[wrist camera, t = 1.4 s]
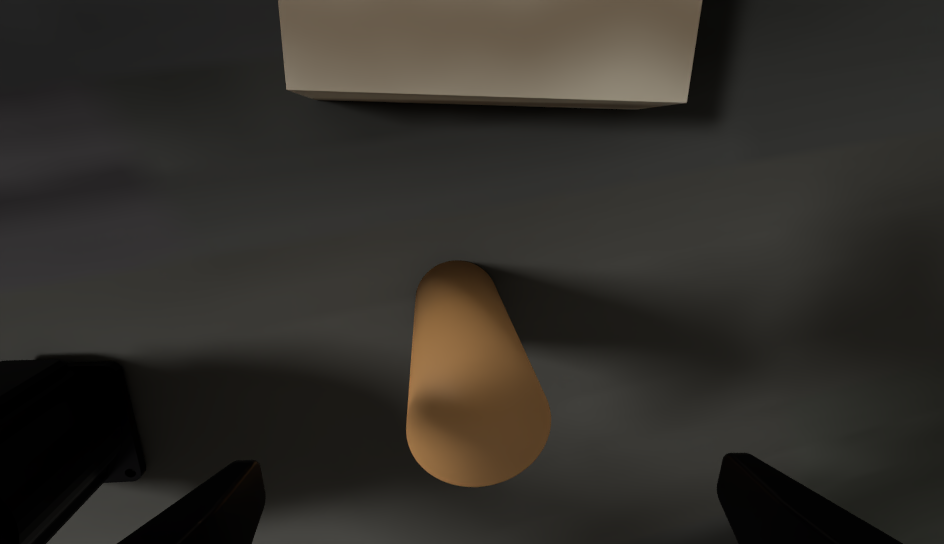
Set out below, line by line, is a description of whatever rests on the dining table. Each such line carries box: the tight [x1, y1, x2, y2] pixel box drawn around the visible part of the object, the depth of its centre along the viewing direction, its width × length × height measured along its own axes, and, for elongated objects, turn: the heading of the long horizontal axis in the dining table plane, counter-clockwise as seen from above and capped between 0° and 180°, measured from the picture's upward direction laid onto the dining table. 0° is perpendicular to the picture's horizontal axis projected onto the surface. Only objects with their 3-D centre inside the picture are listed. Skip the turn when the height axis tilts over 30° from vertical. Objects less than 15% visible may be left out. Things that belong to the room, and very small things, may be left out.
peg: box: [406, 261, 551, 487], centre depth 17 cm, size 4×4×10 cm
